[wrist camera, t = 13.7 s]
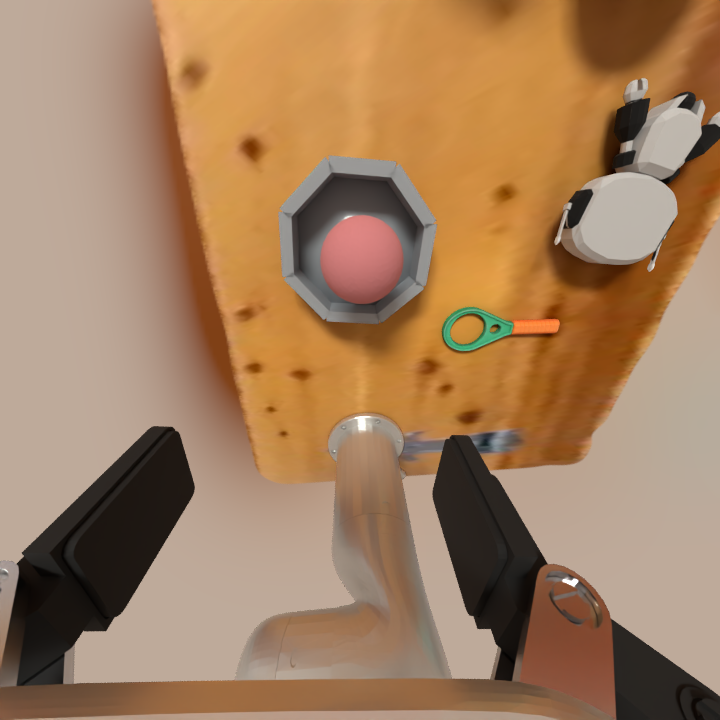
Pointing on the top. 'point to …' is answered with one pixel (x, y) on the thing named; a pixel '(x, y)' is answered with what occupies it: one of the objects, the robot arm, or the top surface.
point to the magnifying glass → (502, 330)
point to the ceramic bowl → (343, 200)
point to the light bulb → (361, 259)
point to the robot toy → (637, 180)
